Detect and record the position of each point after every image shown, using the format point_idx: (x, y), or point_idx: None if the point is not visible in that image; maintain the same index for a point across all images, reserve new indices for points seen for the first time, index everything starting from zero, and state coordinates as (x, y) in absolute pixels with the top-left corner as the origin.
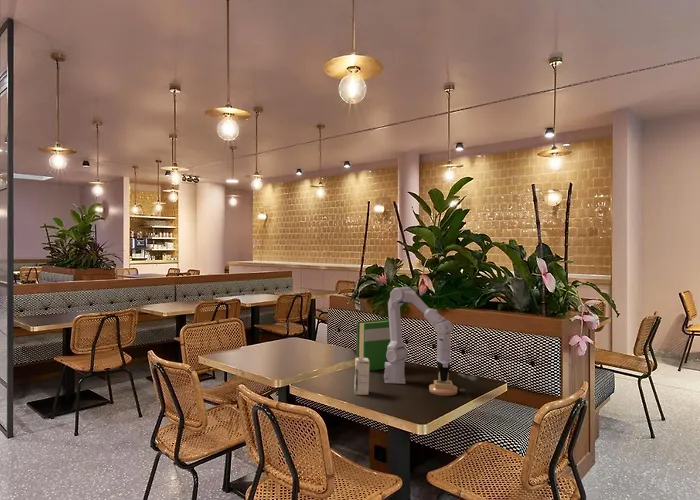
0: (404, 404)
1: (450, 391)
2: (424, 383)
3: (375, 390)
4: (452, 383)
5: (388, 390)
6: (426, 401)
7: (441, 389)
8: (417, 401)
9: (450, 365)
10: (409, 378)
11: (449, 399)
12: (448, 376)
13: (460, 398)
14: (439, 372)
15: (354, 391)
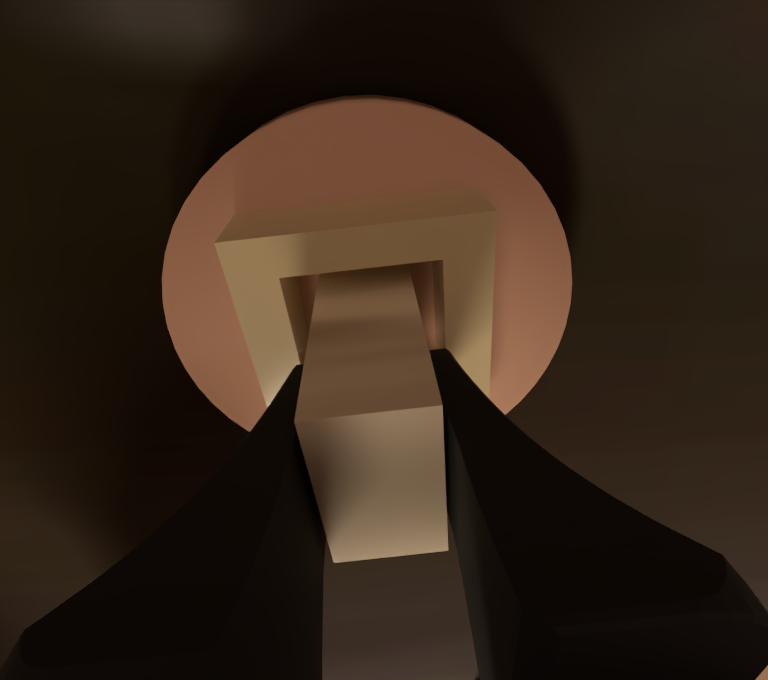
0: (761, 533)
1: (560, 224)
2: (119, 473)
3: (452, 662)
4: (412, 221)
5: (438, 624)
6: (722, 423)
7: (499, 343)
8: (708, 477)
9: (576, 636)
10: (27, 575)
11: (694, 217)
12: (432, 365)
13: (669, 49)
14: (386, 552)
15: None
